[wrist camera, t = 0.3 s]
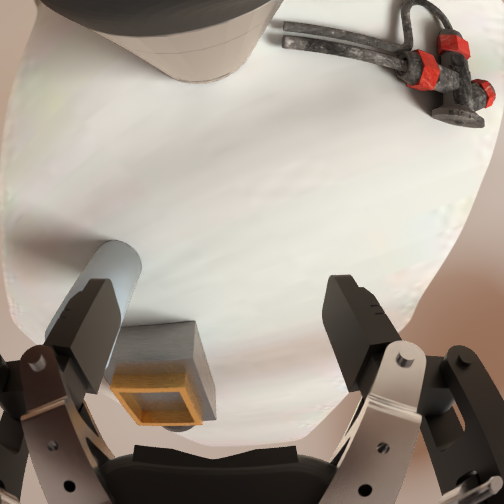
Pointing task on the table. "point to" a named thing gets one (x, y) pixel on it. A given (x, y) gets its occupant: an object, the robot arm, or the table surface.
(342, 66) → the table surface
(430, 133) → the table surface
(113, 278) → the light blue bottle
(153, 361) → the gold-trimmed base block
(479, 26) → the table surface
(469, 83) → the valve
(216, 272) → the table surface
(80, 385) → the robot arm
